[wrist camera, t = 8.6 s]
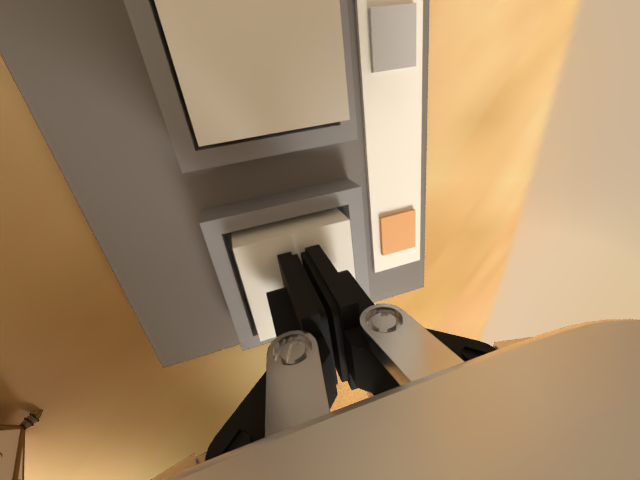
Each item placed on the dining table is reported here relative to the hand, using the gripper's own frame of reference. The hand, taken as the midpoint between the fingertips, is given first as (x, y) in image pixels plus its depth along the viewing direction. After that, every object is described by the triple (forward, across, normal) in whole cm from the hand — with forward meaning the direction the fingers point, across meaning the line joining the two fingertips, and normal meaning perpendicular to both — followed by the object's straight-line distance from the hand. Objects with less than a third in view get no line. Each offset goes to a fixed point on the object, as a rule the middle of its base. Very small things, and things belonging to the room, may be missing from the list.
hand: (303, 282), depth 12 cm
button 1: (+2, 0, 0) cm, 2 cm away
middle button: (+1, 0, -8) cm, 8 cm away
